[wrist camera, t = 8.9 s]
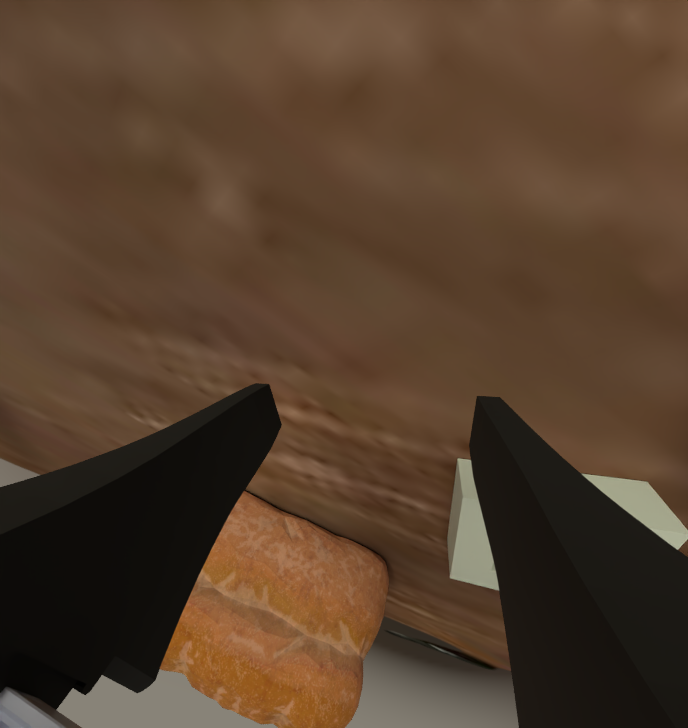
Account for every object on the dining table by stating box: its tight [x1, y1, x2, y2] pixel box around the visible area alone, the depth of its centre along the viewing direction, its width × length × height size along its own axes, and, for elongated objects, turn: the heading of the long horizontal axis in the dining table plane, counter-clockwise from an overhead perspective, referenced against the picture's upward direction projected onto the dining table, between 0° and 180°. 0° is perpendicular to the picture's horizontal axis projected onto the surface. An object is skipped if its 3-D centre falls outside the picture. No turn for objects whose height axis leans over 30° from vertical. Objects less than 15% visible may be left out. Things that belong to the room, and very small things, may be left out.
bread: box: [160, 491, 389, 728], centre depth 29 cm, size 14×26×15 cm, turn 73°
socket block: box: [447, 458, 688, 590], centre depth 21 cm, size 12×12×4 cm
